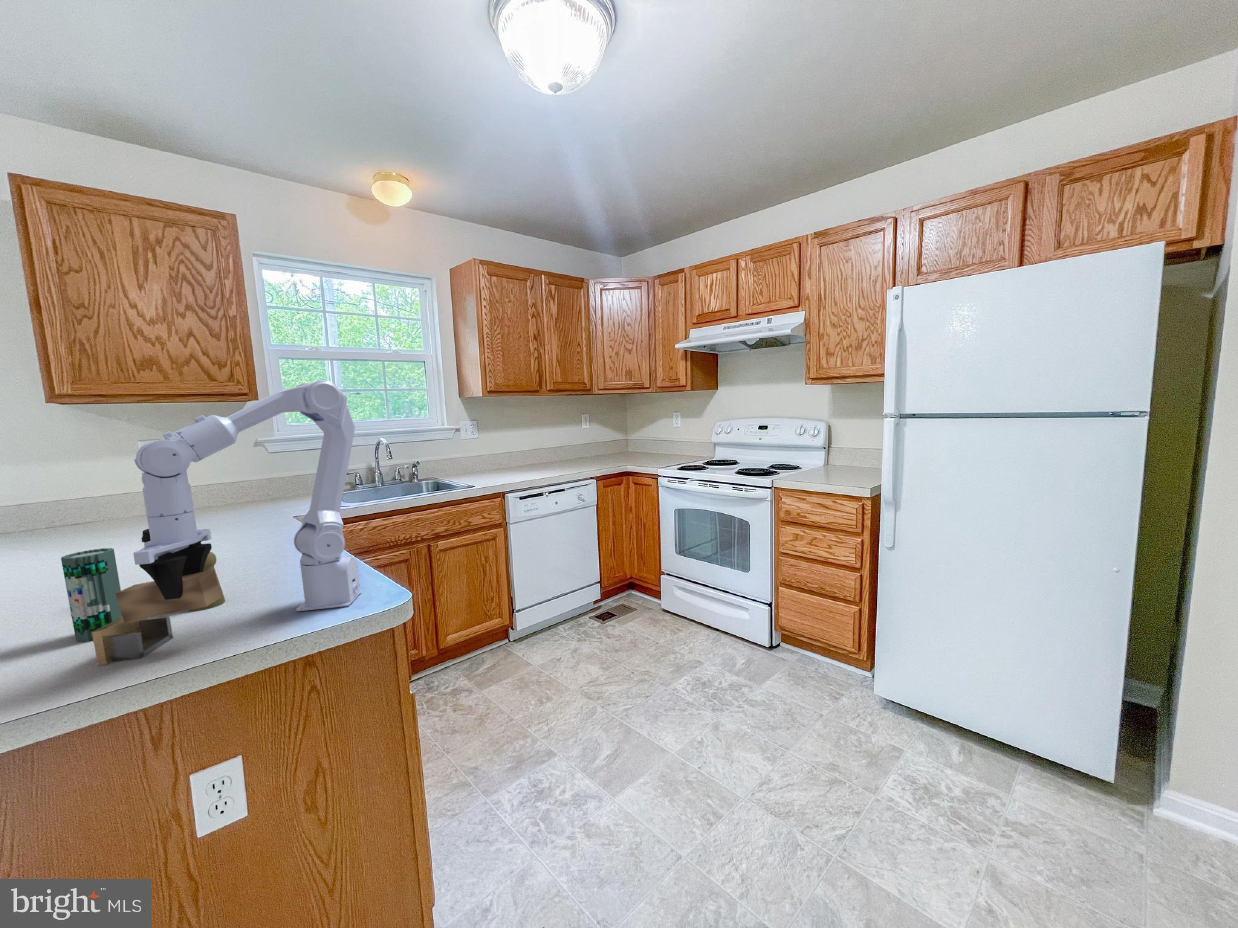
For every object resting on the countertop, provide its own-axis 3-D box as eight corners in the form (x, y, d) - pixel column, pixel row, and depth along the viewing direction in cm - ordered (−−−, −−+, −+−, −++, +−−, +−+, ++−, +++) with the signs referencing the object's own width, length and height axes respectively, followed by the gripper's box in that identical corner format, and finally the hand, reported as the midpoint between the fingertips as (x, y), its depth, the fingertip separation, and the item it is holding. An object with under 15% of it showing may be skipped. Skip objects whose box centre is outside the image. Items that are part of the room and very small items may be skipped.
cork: (203, 611, 96) (194, 557, 95) (179, 610, 98) (170, 557, 96) (232, 599, 102) (225, 548, 101) (209, 598, 103) (202, 548, 102)
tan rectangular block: (221, 597, 84) (214, 569, 84) (206, 606, 80) (198, 577, 80) (143, 612, 82) (135, 584, 82) (124, 622, 78) (115, 593, 78)
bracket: (176, 635, 86) (171, 605, 85) (136, 660, 77) (130, 627, 76) (142, 639, 85) (137, 608, 84) (97, 665, 76) (91, 632, 76)
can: (66, 641, 85) (51, 558, 84) (104, 626, 91) (91, 548, 90) (99, 641, 85) (84, 557, 83) (135, 625, 91) (122, 547, 89)
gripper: (174, 506, 86) (186, 580, 88) (104, 525, 72) (119, 613, 74) (219, 503, 87) (230, 576, 89) (159, 521, 73) (172, 608, 75)
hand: (183, 593), depth 81 cm, fingers closed on tan rectangular block, 4 cm apart
